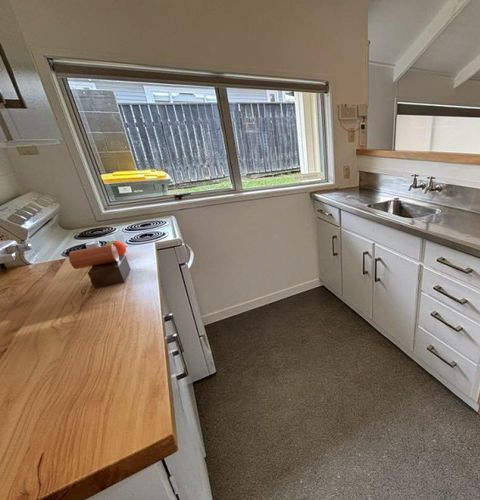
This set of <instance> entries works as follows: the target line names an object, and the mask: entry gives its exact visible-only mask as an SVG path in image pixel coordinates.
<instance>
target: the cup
mask: <svg viewBox="0 0 480 500" xmlns="http://www.w3.org/2000/svg"><path fill="white" fill-rule="evenodd" d="M105 245H106V244H105ZM105 245H100V247H94V248H88V249H87V248H83V249H76V250H71V251H69V253H68V260H69V264H70V266H71V267H72V268H73V269H74V270H79V269H86V268H92V266H96V265H101V264H107V263H112V262H117V261H118V260H119V255H118V251H117V249H116V247H115V246H114V245H113V244H112V245H106V246H105Z"/></svg>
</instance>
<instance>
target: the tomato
mask: <svg viewBox="0 0 480 500" xmlns="http://www.w3.org/2000/svg"><path fill="white" fill-rule="evenodd" d="M112 244H113V245H114V246H115V247H116V249H117V251H118V255H119V256H120V255H126V252H127V247H126V245H125V244H124V243H123V242H122V241H119V240H112V241H109V242H107V243H106V244H105V245H104V246H106V245H112Z"/></svg>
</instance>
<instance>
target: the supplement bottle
mask: <svg viewBox="0 0 480 500" xmlns="http://www.w3.org/2000/svg"><path fill="white" fill-rule="evenodd" d="M100 246H101V243H100V242H99V240H95V241H89V242H86V243H85V247H86V249H88V248H94V247H100Z"/></svg>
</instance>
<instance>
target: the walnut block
mask: <svg viewBox="0 0 480 500" xmlns="http://www.w3.org/2000/svg"><path fill="white" fill-rule="evenodd" d="M130 272H131V266H130V264H129V261H128V258H127V256H126V254H124V255H120V256H119V260H118V261H117V262H112V263H107V264H101V265H96V266H91V267H90V269H89V270H88V271H87V275H88V277H89V280H90V282H91V284H92V286H93V288H94V290H98V289H102V288H107V287H111V286H117V285H121V284H125V283H126V280H127V279H128V276H129V274H130Z"/></svg>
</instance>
